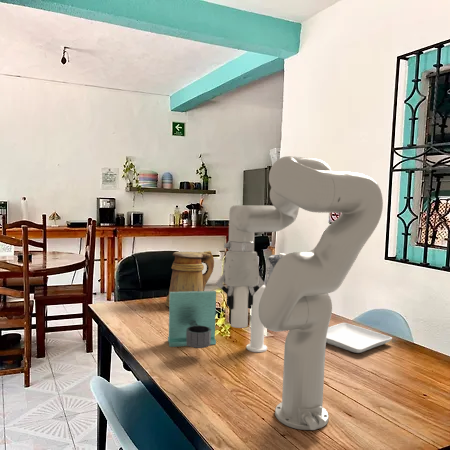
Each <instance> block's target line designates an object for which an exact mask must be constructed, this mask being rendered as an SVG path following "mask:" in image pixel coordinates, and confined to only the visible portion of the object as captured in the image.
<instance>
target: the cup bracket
mask: <svg viewBox="0 0 450 450" xmlns="http://www.w3.org/2000/svg"><path fill="white" fill-rule="evenodd" d="M168 295H169V307H168V336H167V343H168V346H169V348H173V347H174V348H175V347H190V348H193V349H204V348H208V347H210V346H213V345H217V339H216V336H215V335H216V311H217V310H216V307H217V306H216V305H217V292H216V290H204V291H185V292H170V294H169V293H168Z"/></svg>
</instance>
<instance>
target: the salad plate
mask: <svg viewBox="0 0 450 450" xmlns="http://www.w3.org/2000/svg"><path fill="white" fill-rule="evenodd" d="M392 340H393V337H391V336H389V335H386V334H383V333H380V332H377V331H374V330H371V329H367V328H365V327H361V326H359V325H354V324H351V323H347V322H341V323H338V324H334V325H331V326H330V325H329V326H328V331H327V337H326V344H328V345H331V346H334V347H337V348H340V349H342V350H346V351H349V352H351V353H356V354H360V353H363V352H366V351H368V350H371V349H374V348H377V347H379V346H382V345H385V344H388V343H389V342H391V341H392Z"/></svg>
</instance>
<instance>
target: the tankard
mask: <svg viewBox="0 0 450 450" xmlns="http://www.w3.org/2000/svg"><path fill="white" fill-rule="evenodd" d="M172 256H174V260H173V262H172V265H171V269H172V273H171V276H170V277H171V279H170V286H169V290H168V295H167V296H166V300H165V306H166V307H168V308H169V294H170V292H185V291H205V287H206V285H207V284H208V281H209V280H210V278H211V276H212V274H213V272H214V268H215V259H214V256H213V254H212V251H211V250H207V251H206V250H205V251H202V252H201V251H175V252H173V253H172ZM204 264H205V265H206V270H205V272H203V271H204V269H205V268H204Z"/></svg>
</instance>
